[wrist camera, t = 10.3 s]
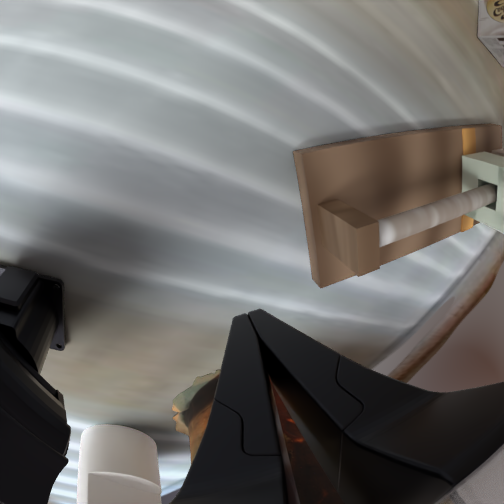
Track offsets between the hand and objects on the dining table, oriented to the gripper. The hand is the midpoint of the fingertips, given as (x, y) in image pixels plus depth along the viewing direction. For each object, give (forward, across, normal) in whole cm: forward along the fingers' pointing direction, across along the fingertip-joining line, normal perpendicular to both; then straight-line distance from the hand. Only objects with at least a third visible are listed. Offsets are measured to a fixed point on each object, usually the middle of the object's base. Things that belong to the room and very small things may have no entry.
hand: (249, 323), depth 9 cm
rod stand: (+12, -19, +3) cm, 22 cm away
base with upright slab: (+12, +18, +22) cm, 31 cm away
